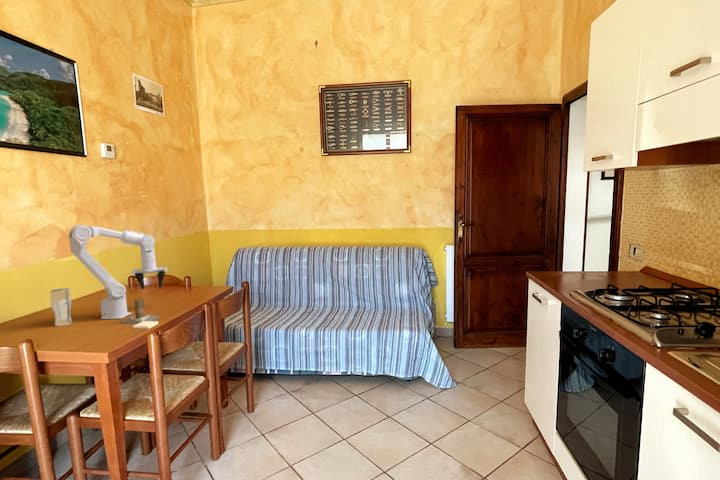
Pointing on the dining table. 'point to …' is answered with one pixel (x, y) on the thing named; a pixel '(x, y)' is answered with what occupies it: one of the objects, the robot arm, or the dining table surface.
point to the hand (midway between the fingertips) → (151, 287)
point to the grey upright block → (139, 310)
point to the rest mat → (139, 321)
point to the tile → (145, 324)
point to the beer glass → (61, 306)
